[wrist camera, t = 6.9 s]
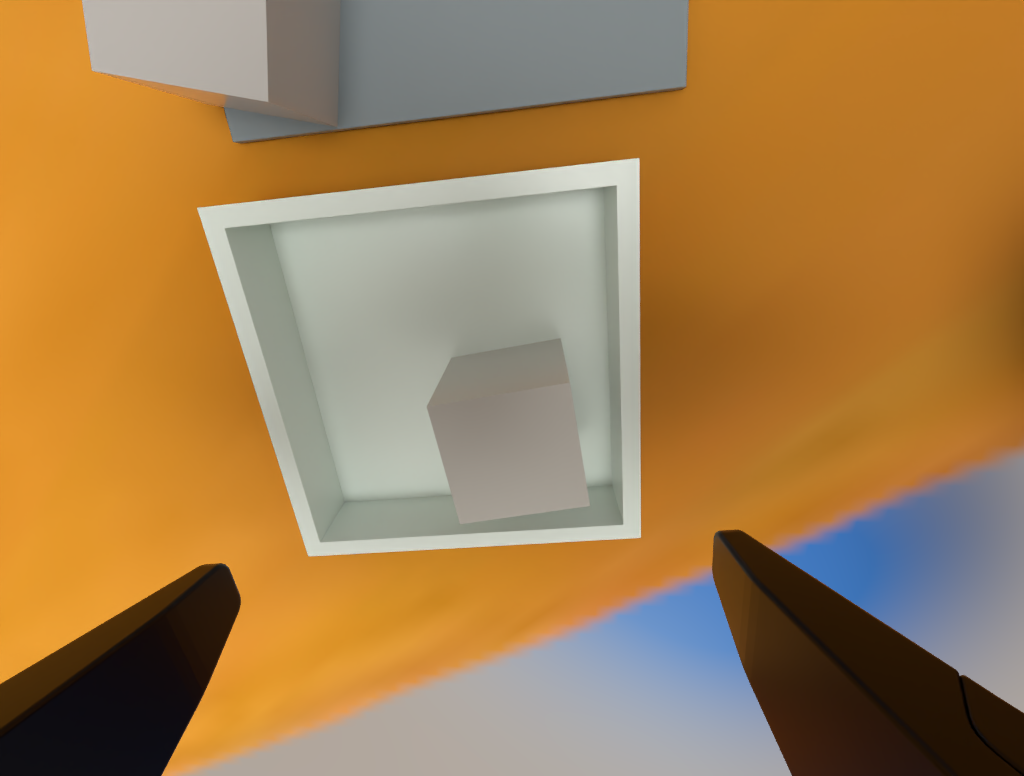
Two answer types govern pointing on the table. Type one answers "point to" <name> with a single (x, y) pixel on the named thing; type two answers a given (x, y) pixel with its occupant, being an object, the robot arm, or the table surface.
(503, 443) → the light grey cube
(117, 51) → the grey cube
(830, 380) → the table surface
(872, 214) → the table surface
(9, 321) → the table surface
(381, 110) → the lid board
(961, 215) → the table surface
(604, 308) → the tray
